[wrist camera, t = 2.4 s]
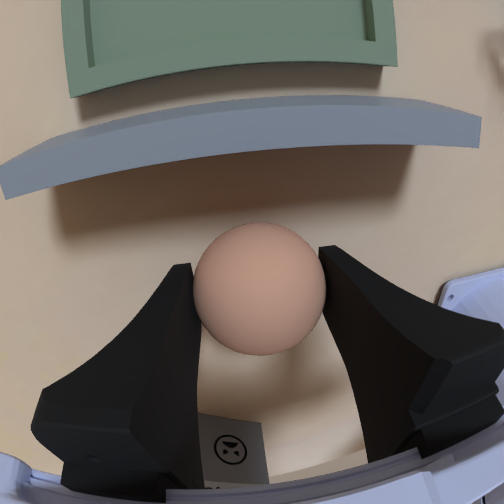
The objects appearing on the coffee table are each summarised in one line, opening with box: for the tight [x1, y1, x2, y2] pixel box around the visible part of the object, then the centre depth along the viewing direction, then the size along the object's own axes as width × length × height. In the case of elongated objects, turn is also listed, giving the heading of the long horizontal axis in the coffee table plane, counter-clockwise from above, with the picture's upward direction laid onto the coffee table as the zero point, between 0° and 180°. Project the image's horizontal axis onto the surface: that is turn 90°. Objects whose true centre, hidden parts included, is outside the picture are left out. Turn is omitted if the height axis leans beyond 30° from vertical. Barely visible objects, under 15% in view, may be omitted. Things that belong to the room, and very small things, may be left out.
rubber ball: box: [193, 223, 326, 356], centre depth 11 cm, size 4×4×4 cm
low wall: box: [0, 95, 482, 200], centre depth 8 cm, size 1×14×4 cm, turn 95°
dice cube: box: [198, 413, 269, 489], centre depth 18 cm, size 5×5×5 cm
